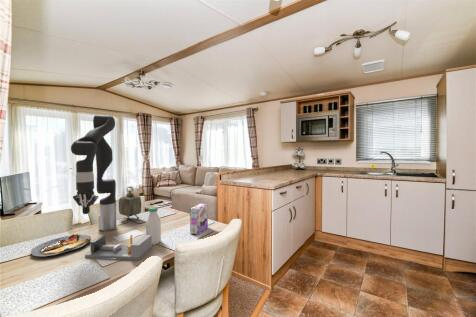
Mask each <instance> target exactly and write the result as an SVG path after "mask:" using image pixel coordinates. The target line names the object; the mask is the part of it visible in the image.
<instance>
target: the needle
mask: <svg viewBox="0 0 476 317" xmlns="http://www.w3.org/2000/svg"><path fill="white" fill-rule="evenodd" d="M129 238H130V241H129V242H130V244H128V245H129V246H128V247H127V249H128V253H130V252H131V244H133V243H134V242H135V241H134V242H133V234H130V237H129Z"/></svg>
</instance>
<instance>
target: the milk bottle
mask: <svg viewBox="0 0 476 317" xmlns="http://www.w3.org/2000/svg"><path fill="white" fill-rule="evenodd" d="M158 210H159V208H158V207H157V206H151V207H149V208H148V212H149V214H148V217H147V219H146V226H145V229H146V230H145V233H146V234H145V235H151V238H152V246H154V245H157V244H160V243H161V241H162V231H161V230H162V229H161V228H162V226H161V218H160V216H159V214H158ZM159 242H160V243H159Z"/></svg>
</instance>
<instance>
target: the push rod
mask: <svg viewBox="0 0 476 317" xmlns="http://www.w3.org/2000/svg"><path fill="white" fill-rule="evenodd" d="M111 244H112V243H111ZM111 244H110V243H107V236H106V235H100V236H99V237H96V238H95V239H93V240H90V242H89V246H90V247H89V248H90V251H91V252H96V251H97V250H113V252H116V251H117V250H119V249H120V248H121V247H122V245H123V244H122V243H118V244H116V245H111Z"/></svg>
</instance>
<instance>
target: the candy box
mask: <svg viewBox="0 0 476 317" xmlns="http://www.w3.org/2000/svg"><path fill="white" fill-rule="evenodd" d="M208 206H209V205H208V204H207V203H199V204H197V205H195V206H193V207H192V206H191V208H190V209H189V224H190V225H189V233H193V234H192V235H196V234H198V235H200V234H201V233H202V232H204V231H205V230H206V229H208V228H209V225H208V224H209V216H208V214H209V213H208V210H209V209H208ZM203 230H204V231H203ZM200 232H201V233H200ZM199 233H200V234H199Z"/></svg>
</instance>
